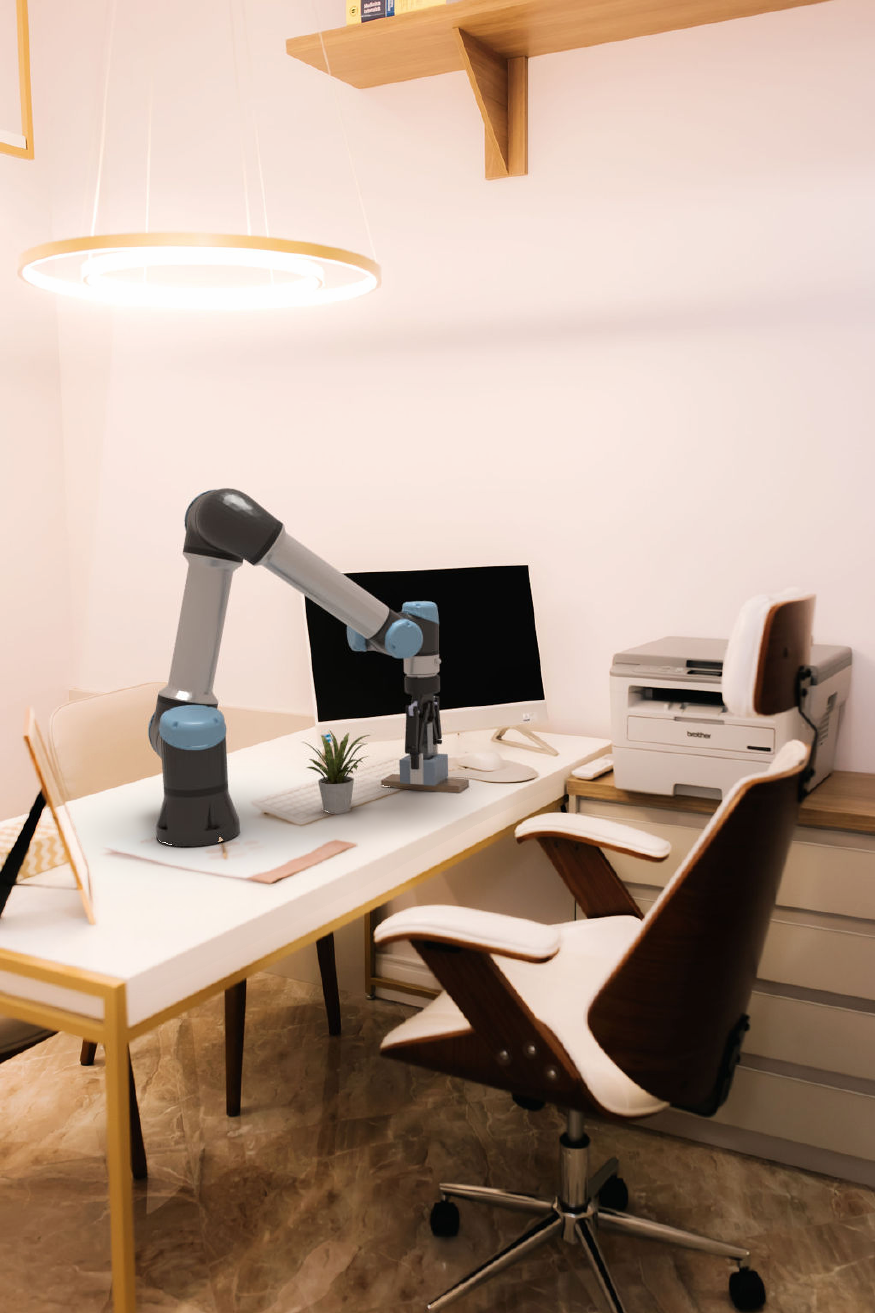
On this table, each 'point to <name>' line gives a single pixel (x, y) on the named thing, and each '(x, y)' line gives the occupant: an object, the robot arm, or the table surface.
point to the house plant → (336, 775)
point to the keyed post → (427, 751)
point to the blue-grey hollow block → (426, 769)
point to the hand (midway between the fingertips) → (424, 778)
